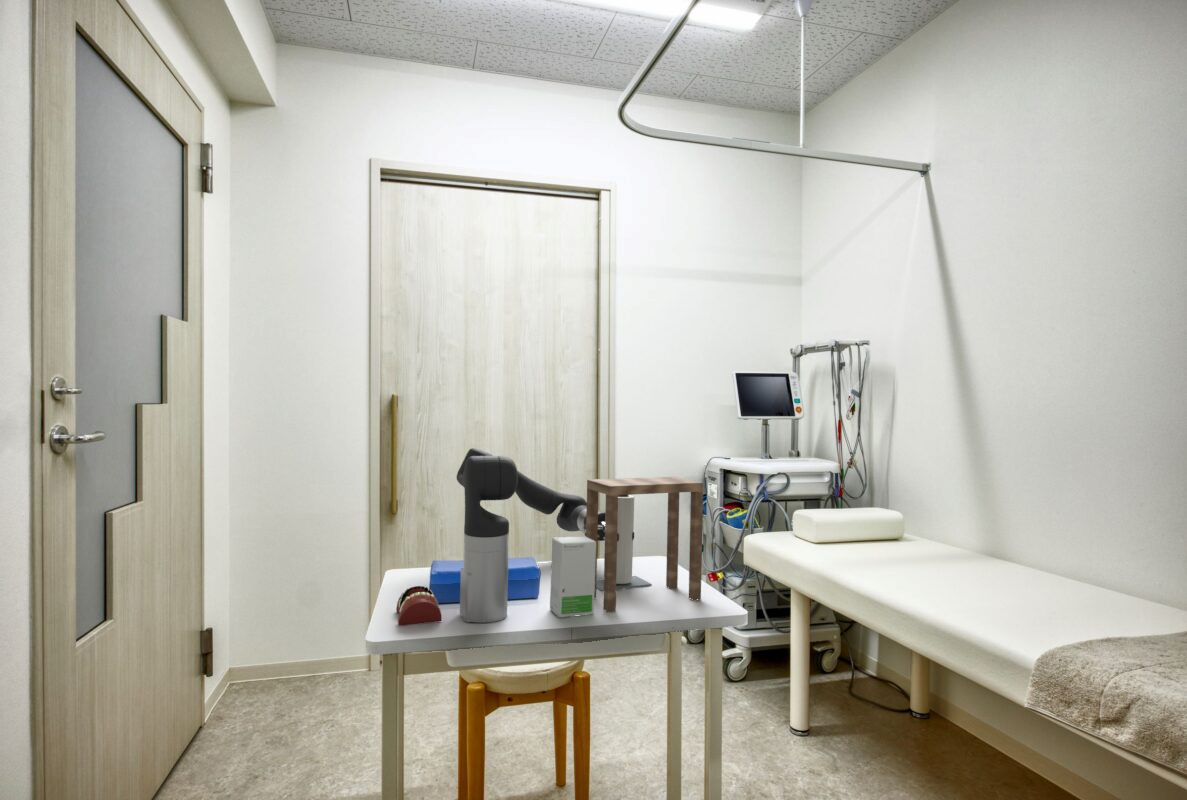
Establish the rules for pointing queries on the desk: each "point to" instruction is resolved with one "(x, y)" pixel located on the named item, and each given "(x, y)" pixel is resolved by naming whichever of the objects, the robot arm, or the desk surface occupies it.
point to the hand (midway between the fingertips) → (625, 536)
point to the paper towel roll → (625, 539)
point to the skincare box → (572, 576)
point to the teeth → (418, 607)
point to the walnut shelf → (696, 515)
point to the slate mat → (634, 583)
